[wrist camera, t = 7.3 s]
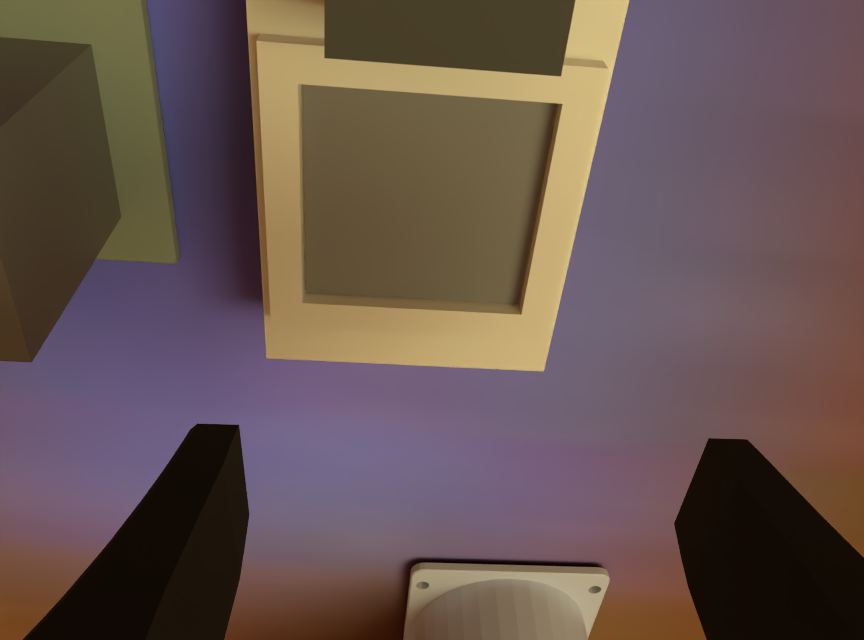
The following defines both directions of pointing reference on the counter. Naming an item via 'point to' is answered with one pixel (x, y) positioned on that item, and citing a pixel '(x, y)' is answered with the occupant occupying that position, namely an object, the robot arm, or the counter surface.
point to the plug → (451, 33)
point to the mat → (117, 111)
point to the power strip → (418, 194)
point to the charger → (49, 185)
